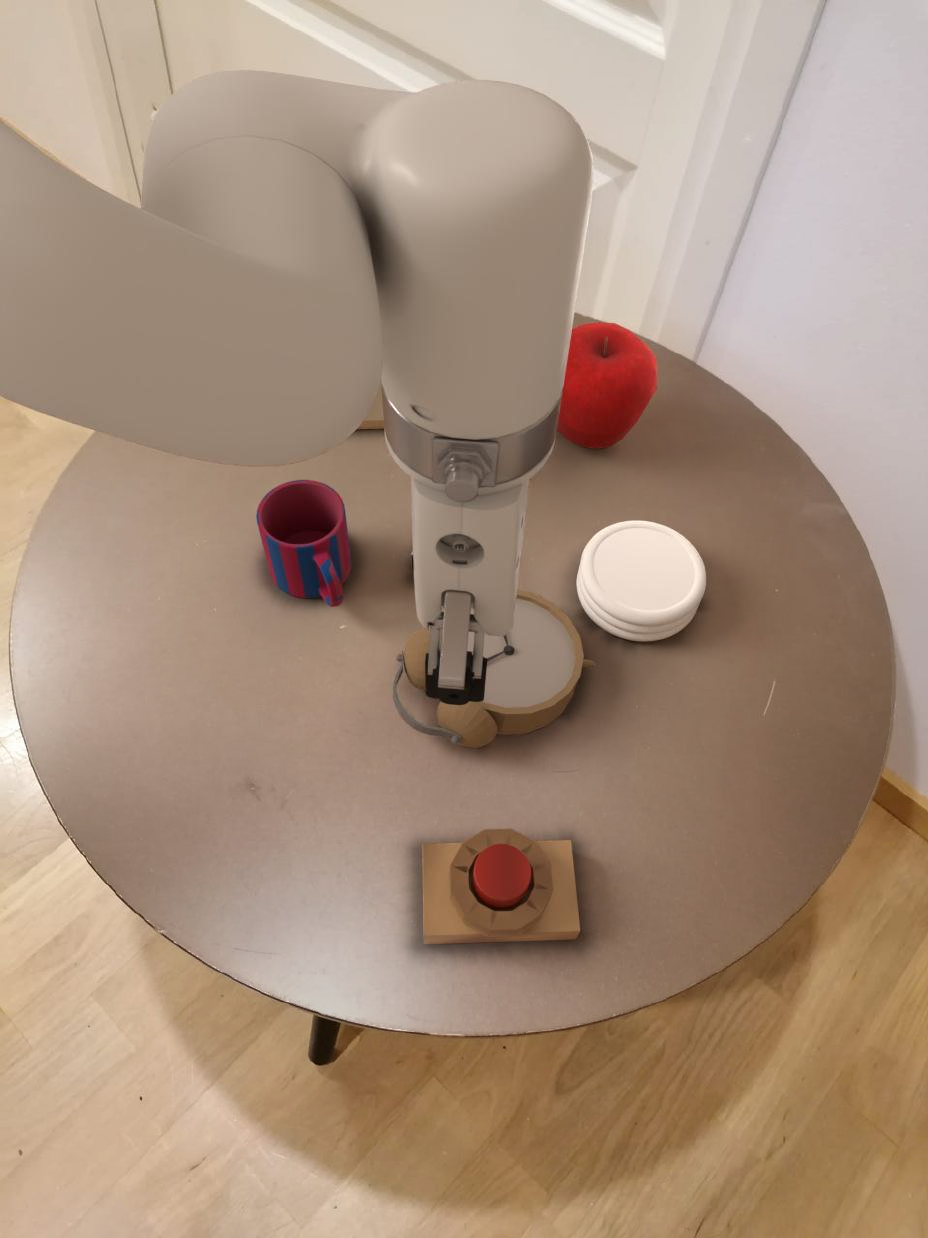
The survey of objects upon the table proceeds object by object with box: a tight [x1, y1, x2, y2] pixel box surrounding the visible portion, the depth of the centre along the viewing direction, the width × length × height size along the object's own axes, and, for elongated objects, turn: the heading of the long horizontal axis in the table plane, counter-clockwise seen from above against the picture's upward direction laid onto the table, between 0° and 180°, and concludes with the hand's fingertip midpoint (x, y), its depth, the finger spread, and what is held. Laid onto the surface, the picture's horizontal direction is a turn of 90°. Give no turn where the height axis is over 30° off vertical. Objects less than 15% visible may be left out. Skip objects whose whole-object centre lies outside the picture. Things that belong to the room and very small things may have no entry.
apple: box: [557, 321, 658, 450], centre depth 81 cm, size 10×10×11 cm
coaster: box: [575, 520, 707, 642], centre depth 75 cm, size 10×10×4 cm
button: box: [473, 844, 531, 908], centre depth 59 cm, size 4×4×2 cm
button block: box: [421, 828, 581, 945], centre depth 61 cm, size 10×6×4 cm, turn 92°
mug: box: [255, 479, 352, 608], centre depth 73 cm, size 7×10×7 cm
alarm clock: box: [392, 588, 596, 748], centre depth 70 cm, size 11×5×15 cm
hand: (462, 621), depth 54 cm, fingers open, 9 cm apart
